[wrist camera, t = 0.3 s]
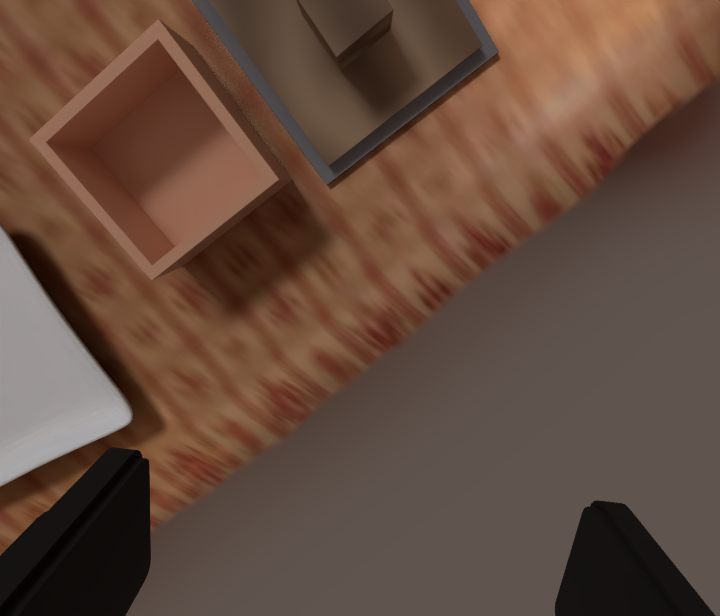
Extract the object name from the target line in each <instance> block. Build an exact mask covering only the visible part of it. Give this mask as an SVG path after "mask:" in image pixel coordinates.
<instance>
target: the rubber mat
mask: <svg viewBox="0 0 720 616" xmlns="http://www.w3.org/2000/svg"><path fill="white" fill-rule="evenodd" d="M192 1H193V2H194V3H195V5H196V6H197V7H198V9H199V10H200V12H201V13H202V14H203V16H204V17H205V18H206V20H207V21H208V23H209V24H210V25H211V27H212V28H213V29H214V31H215V32H216V34H217V35H218V36H219V38H220V39H221V40H222V42H223V43H224V45H225V46H226V47H227V49H228V50H229V51H230V53H231V54H232V56H233V57H234V58H235V60H236V61H237V62H238V64H239V65H240V67H241V68H242V69H243V71H244V72H245V73H246V75H247V76H248V78H249V79H250V80H251V82H252V83H253V84H254V86H255V87H256V89H257V90H258V91H259V93H260V94H261V95H262V97H263V98H264V100H265V101H266V102H267V104H268V105H269V106H270V108H271V109H272V111H273V112H274V113H275V115H276V116H277V117H278V119H279V120H280V122H281V123H282V124H283V126H284V127H285V128H286V130H287V131H288V133H289V134H290V135H291V137H292V138H293V139H294V141H295V142H296V144H297V145H298V146H299V148H300V149H301V150H302V152H303V153H304V155H305V156H306V157H307V159H308V160H309V161H310V163H311V164H312V166H313V167H314V168H315V170H316V171H317V172H318V174H319V175H320V177H321V178H322V179H323V181H324V182H325V183H326V185H328V184H329V183H330V182H332V181H333V180H334V179H335V178H337V177H338V176H339V175H341V174H342V173H343V172H344V171H346V170H347V169H348V168H350V167H351V166H352V165H354V164H355V163H356V162H357V161H359V160H360V159H361V158H363V157H364V156H365V155H366V154H368V153H369V152H370V151H372V150H373V149H374V148H375V147H377V146H378V145H379V144H381V143H382V142H383V141H385V140H386V139H387V138H388V137H390V136H391V135H392V134H394V133H395V132H396V131H397V130H399V129H400V128H401V127H403V126H404V125H405V124H406V123H408V122H409V121H410V120H412V119H413V118H414V117H416V116H417V115H418V114H419V113H421V112H422V111H423V110H425V109H426V108H427V107H428V106H430V105H431V104H432V103H434V102H435V101H436V100H437V99H439V98H440V97H441V96H443V95H444V94H445V93H447V92H448V91H449V90H450V89H452V88H453V87H454V86H456V85H457V84H458V83H459V82H461V81H462V80H463V79H465V78H466V77H467V76H468V75H470V74H471V73H472V72H474V71H475V70H476V69H478V68H479V67H480V66H481V65H483V64H484V63H485V62H487V61H488V60H489V59H490V58H492V57H493V56H494V55H496V54H497V53H498V52H499V51H498V49H497V48H496V46H495V44H494V42H493V41H492V39H491V37H490V36H489V34H488V32H487V31H486V29H485V27H484V25H483V24H482V22H481V20H480V19H479V17H478V15H477V14H476V12H475V10H474V8H473V7H472V5H471V3H470V2H469V0H456V1H457V3H458V5H459V6H460V8H461V10H462V11H463V13H464V15H465V16H466V18H467V20H468V21H469V23H470V25H471V26H472V28H473V30H474V32H475V33H476V35H477V37H478V38H479V40H480V42H481V43H482V45H483V46H482V47H481V48H480V49H479V50H477V51H476V52H475V53H474V54H472V55H471V56H470V57H469V58H467V59H466V60H465V61H463V62H462V63H461V64H460V65H458V66H457V67H456V68H454V69H453V70H452V71H451V72H449V73H448V74H447V75H446V76H444V77H443V78H442V79H440V80H439V81H438V82H437V83H435V84H434V85H433V86H431V87H430V88H429V89H428V90H426V91H425V92H424V93H423V94H421V95H420V96H419V97H417V98H416V99H415V100H414V101H412V102H411V103H410V104H408V105H407V106H406V107H405V108H403V109H402V110H401V111H400V112H398V113H397V114H396V115H394V116H393V117H392V118H391V119H389V120H388V121H387V122H385V123H384V124H383V125H382V126H380V127H379V128H378V129H376V130H375V131H374V132H373V133H371V134H370V135H369V136H368V137H366V138H365V139H364V140H362V141H361V142H360V143H359V144H357V145H356V146H355V147H353V148H352V149H351V150H350V151H348V152H347V153H346V154H345V155H343V156H342V157H341V158H339V159H338V160H337V161H336V162H334V163H333V164H332V165H330V166H328V165H327V164H326V163H325V161H324V160H323V158H322V157H321V156H320V154H319V153H318V152H317V150H316V149H315V147H314V146H313V145H312V143H311V142H310V140H309V139H308V138H307V136H306V135H305V133H304V132H303V131H302V129H301V128H300V126H299V125H298V124H297V122H296V121H295V120H294V118H293V117H292V115H291V114H290V113H289V111H288V110H287V108H286V107H285V106H284V104H283V103H282V101H281V100H280V99H279V97H278V96H277V94H276V93H275V92H274V90H273V89H272V88H271V86H270V85H269V83H268V82H267V81H266V79H265V78H264V76H263V75H262V74H261V72H260V71H259V69H258V68H257V67H256V65H255V64H254V63H253V61H252V60H251V58H250V57H249V56H248V54H247V53H246V51H245V50H244V49H243V47H242V46H241V44H240V43H239V42H238V40H237V39H236V37H235V36H234V35H233V33H232V32H231V31H230V29H229V28H228V26H227V25H226V24H225V22H224V21H223V19H222V18H221V17H220V15H219V14H218V12H217V11H216V10H215V8H214V7H213V5H212V4H211V3H210V1H209V0H192Z"/></svg>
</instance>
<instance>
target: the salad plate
mask: <svg viewBox="0 0 720 616" xmlns="http://www.w3.org/2000/svg"><path fill="white" fill-rule="evenodd" d="M132 419H133V411H132V408H131V405H130V403H129V401H128V400H127V398H126V397H125V396H124V394H123V393H122V392H121V390H120V389H119V388H118V387H117V385H116V384H115V383H114V382H113V380H112V379H111V378H110V377H109V375H108V374H107V373H106V372H105V370H104V369H103V368H102V366H101V365H100V364H99V363H98V361H97V360H96V359H95V357H94V356H93V355H92V354H91V352H90V351H89V350H88V348H87V347H86V346H85V344H84V343H83V342H82V340H81V339H80V338H79V336H78V335H77V334H76V332H75V331H74V329H73V328H72V327H71V325H70V324H69V323H68V321H67V320H66V318H65V317H64V316H63V314H62V313H61V312H60V310H59V309H58V307H57V306H56V305H55V303H54V302H53V300H52V299H51V297H50V296H49V294H48V293H47V291H46V290H45V289H44V287H43V286H42V284H41V283H40V281H39V280H38V278H37V277H36V275H35V274H34V272H33V271H32V269H31V268H30V266H29V265H28V263H27V261H26V260H25V258H24V257H23V255H22V254H21V252H20V251H19V249H18V248H17V246H16V244H15V243H14V241H13V240H12V238H11V237H10V235H9V234H8V232H7V231H6V229H5V228H4V227H3V225H2V224H1V223H0V487H1V486H3V485H5V484H7V483H9V482H11V481H13V480H14V479H16V478H18V477H20V476H22V475H24V474H26V473H28V472H30V471H32V470H34V469H36V468H38V467H40V466H42V465H44V464H46V463H48V462H50V461H52V460H54V459H56V458H59V457H61V456H63V455H65V454H67V453H69V452H71V451H74V450H76V449H78V448H80V447H83V446H85V445H87V444H89V443H91V442H94V441H96V440H98V439H100V438H103V437H105V436H107V435H109V434H112V433H114V432H116V431H118V430H119V429H121V428H123V427H125V426H127V425H128V424H129V423H130V422H131V421H132Z"/></svg>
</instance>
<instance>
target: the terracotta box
mask: <svg viewBox="0 0 720 616" xmlns="http://www.w3.org/2000/svg"><path fill="white" fill-rule="evenodd" d="M29 141H30V142H31V143H32V144H33V145H34V146H35V147H36V149H37V150H38V151H39V152H40V153H41V154H42V155H43V157H44V158H45V159H46V160H47V161H48V162H49V163H50V165H51V166H52V167H53V168H54V169H55V170H56V171H57V173H58V174H59V175H60V176H61V177H62V178H63V180H64V181H65V182H66V183H67V184H68V185H69V186H70V188H71V189H72V190H73V191H74V192H75V193H76V194H77V196H78V197H79V198H80V199H81V200H82V201H83V202H84V204H85V205H86V206H87V207H88V208H89V209H90V210H91V212H92V213H93V214H94V215H95V216H96V217H97V218H98V220H99V221H100V222H101V223H102V224H103V225H104V226H105V228H106V229H107V230H108V231H109V232H110V233H111V235H112V236H113V237H114V238H115V239H116V240H117V241H118V243H119V244H120V245H121V246H122V247H123V248H124V249H125V251H126V252H127V253H128V254H129V255H130V256H131V257H132V259H133V260H134V261H135V262H136V263H137V264H138V265H139V267H140V268H141V269H142V270H143V271H144V272H145V273H146V275H147V276H148V277H149V278H150V279H151V280H154V279H156V278H158V277H160V276H163V275H165V274H167V273H169V272H171V271H173V270H175V269H178V268H180V267H182V266H184V265H185V264H186V263H187V262H189V261H190V260H191V259H192V258H194V257H195V256H196V255H197V254H199V253H200V252H201V251H203V250H204V249H205V248H206V247H208V246H209V245H210V244H211V243H213V242H214V241H215V240H216V239H218V238H219V237H220V236H222V235H223V234H224V233H225V232H227V231H228V230H229V229H230V228H232V227H233V226H234V225H235V224H237V223H238V222H239V221H241V220H242V219H243V218H244V217H246V216H247V215H248V214H249V213H251V212H252V211H253V210H254V209H256V208H257V207H258V206H259V205H261V204H262V203H263V202H265V201H266V200H267V199H268V198H270V197H271V196H272V195H273V194H275V193H276V192H277V191H278V190H280V189H281V188H282V187H284V186H285V185H286V184H287V183H289V182H290V181H291V180H292V178H291V177H290V176H289V174H288V173H287V171H286V170H285V169H284V167H283V166H282V165H281V163H280V162H279V161H278V159H277V158H276V157H275V155H274V154H273V153H272V151H271V150H270V149H269V147H268V146H267V145H266V143H265V142H264V141H263V139H262V138H261V137H260V135H259V134H258V133H257V131H256V130H255V128H254V127H253V126H252V124H251V123H250V122H249V120H248V119H247V118H246V116H245V115H244V114H243V112H242V111H241V110H240V108H239V107H238V106H237V104H236V103H235V102H234V100H233V99H232V98H231V96H230V95H229V94H228V92H227V91H226V89H225V88H224V87H223V85H222V84H221V83H220V81H219V80H218V79H217V77H216V76H215V75H214V73H213V72H212V71H211V69H210V68H209V67H208V65H207V64H206V63H205V61H204V60H203V59H202V57H201V56H200V55H199V53H198V52H197V51H196V49H195V48H194V46H193V45H191V44H190V43H189V42H188V41H186V40H185V39H184V38H182V37H181V36H180V35H179V34H177V33H176V32H175V31H173V30H172V29H171V28H170V27H168V26H167V25H166V24H164V23H163V22H162V21H161V20H159V19H158V20H157V21H156V22H155V23H153V24H152V25H151V26H150V27H149V28H148V29H147V30H146V31H145V32H144V33H143V34H142V35H141V36H140V37H138V38H137V39H136V40H135V41H134V42H133V43H132V44H131V45H130V46H129V47H128V48H127V49H126V50H124V51H123V52H122V53H121V54H120V55H119V56H118V57H117V58H116V59H115V60H114V61H113V62H112V63H111V64H109V65H108V66H107V67H106V68H105V69H104V70H103V71H102V72H101V73H100V74H99V75H98V76H97V77H95V78H94V79H93V80H92V81H91V82H90V83H89V84H88V85H87V86H86V87H85V88H84V89H83V90H82V91H80V92H79V93H78V94H77V95H76V96H75V97H74V98H73V99H72V100H71V101H70V102H69V103H68V104H66V105H65V106H64V107H63V108H62V109H61V110H60V111H59V112H58V113H57V114H56V115H55V116H54V117H53V118H51V119H50V120H49V121H48V122H47V123H46V124H45V125H44V126H43V127H42V128H41V129H40V130H39V131H37V132H36V133H35V134H34V135H33V136H32V137H31V138H30V139H29Z"/></svg>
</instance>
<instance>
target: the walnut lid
mask: <svg viewBox="0 0 720 616" xmlns="http://www.w3.org/2000/svg"><path fill="white" fill-rule="evenodd" d="M209 1H210V3H211V4H212V5H213V7H214V8H215V10H216V11H217V12H218V14H219V15H220V17H221V18H222V19H223V21H224V22H225V24H226V25H227V26H228V28H229V29H230V31H231V32H232V33H233V35H234V36H235V37H236V39H237V40H238V42H239V43H240V44H241V46H242V47H243V49H244V50H245V51H246V53H247V54H248V56H249V57H250V58H251V60H252V61H253V63H254V64H255V65H256V67H257V68H258V69H259V71H260V72H261V74H262V75H263V76H264V78H265V79H266V81H267V82H268V83H269V85H270V86H271V88H272V89H273V90H274V92H275V93H276V94H277V96H278V97H279V99H280V100H281V101H282V103H283V104H284V106H285V107H286V108H287V110H288V111H289V113H290V114H291V115H292V117H293V118H294V120H295V121H296V122H297V124H298V125H299V126H300V128H301V129H302V131H303V132H304V133H305V135H306V136H307V138H308V139H309V140H310V142H311V143H312V145H313V146H314V147H315V149H316V150H317V152H318V153H319V154H320V156H321V157H322V158H323V160H324V161H325V163H326V164H327V165H328V166H330V165H332V164H333V163H334V162H336V161H337V160H338V159H339V158H341V157H342V156H343V155H345V154H346V153H347V152H348V151H350V150H351V149H352V148H353V147H355V146H356V145H357V144H359V143H360V142H361V141H362V140H364V139H365V138H366V137H368V136H369V135H370V134H371V133H373V132H374V131H375V130H376V129H378V128H379V127H380V126H382V125H383V124H384V123H385V122H387V121H388V120H389V119H391V118H392V117H393V116H394V115H396V114H397V113H398V112H400V111H401V110H402V109H403V108H405V107H406V106H407V105H408V104H410V103H411V102H412V101H414V100H415V99H416V98H417V97H419V96H420V95H421V94H423V93H424V92H425V91H426V90H428V89H429V88H430V87H431V86H433V85H434V84H435V83H437V82H438V81H439V80H440V79H442V78H443V77H444V76H446V75H447V74H448V73H449V72H451V71H452V70H453V69H454V68H456V67H457V66H458V65H460V64H461V63H462V62H463V61H465V60H466V59H467V58H469V57H470V56H471V55H472V54H474V53H475V52H476V51H477V50H479V49H480V48H481V47H482V46H483V45H482V43H481V42H480V40H479V38H478V37H477V35H476V33H475V32H474V30H473V28H472V26H471V25H470V23H469V21H468V20H467V18H466V16H465V15H464V13H463V11H462V10H461V8H460V6H459V5H458V3H457V1H456V0H209Z"/></svg>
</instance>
